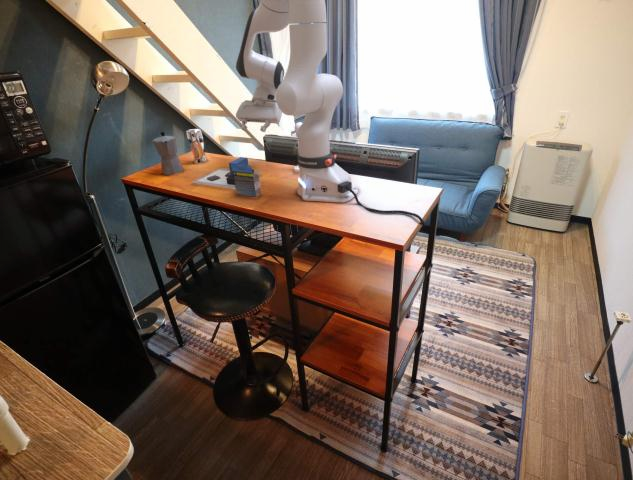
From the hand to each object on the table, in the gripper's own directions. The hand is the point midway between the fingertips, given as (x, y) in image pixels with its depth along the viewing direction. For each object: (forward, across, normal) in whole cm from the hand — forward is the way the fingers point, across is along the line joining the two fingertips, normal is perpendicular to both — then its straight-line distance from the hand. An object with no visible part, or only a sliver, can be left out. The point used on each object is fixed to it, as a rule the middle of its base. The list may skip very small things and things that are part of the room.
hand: (252, 130), depth 141 cm
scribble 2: (+19, -7, +5) cm, 21 cm away
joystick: (+7, +20, +18) cm, 27 cm away
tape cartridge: (+29, +12, -4) cm, 32 cm away
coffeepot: (+21, -39, +5) cm, 45 cm away
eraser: (+21, 0, +3) cm, 21 cm away
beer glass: (+10, -36, +15) cm, 41 cm away
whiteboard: (+21, -7, +4) cm, 23 cm away
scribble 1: (+23, -12, +1) cm, 26 cm away
